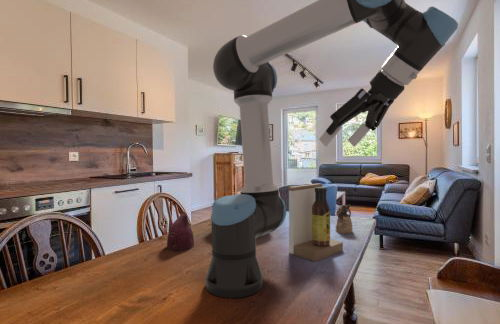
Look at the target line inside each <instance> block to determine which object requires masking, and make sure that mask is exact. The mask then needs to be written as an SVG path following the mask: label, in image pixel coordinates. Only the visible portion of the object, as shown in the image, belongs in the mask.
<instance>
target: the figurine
mask: <svg viewBox="0 0 500 324" xmlns="http://www.w3.org/2000/svg"><path fill="white" fill-rule="evenodd" d="M350 208H351V205H350V204H348V205H345V203H344V204H341V205H340V206H339V207H338V210H337V211H336V213H337V221H336V225H335V232H336V233H339V234H351V233H353V223H352V219H351V215H352V211H351V209H350ZM348 213H349V214H348Z"/></svg>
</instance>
